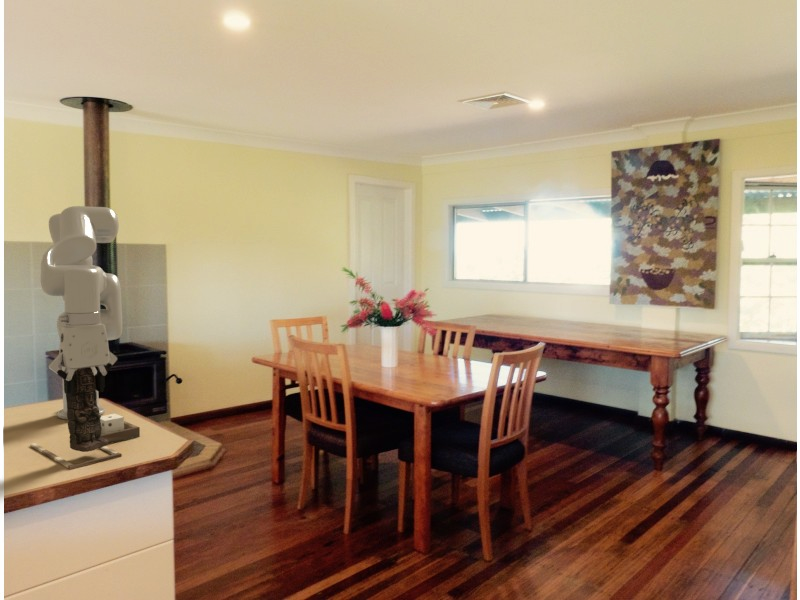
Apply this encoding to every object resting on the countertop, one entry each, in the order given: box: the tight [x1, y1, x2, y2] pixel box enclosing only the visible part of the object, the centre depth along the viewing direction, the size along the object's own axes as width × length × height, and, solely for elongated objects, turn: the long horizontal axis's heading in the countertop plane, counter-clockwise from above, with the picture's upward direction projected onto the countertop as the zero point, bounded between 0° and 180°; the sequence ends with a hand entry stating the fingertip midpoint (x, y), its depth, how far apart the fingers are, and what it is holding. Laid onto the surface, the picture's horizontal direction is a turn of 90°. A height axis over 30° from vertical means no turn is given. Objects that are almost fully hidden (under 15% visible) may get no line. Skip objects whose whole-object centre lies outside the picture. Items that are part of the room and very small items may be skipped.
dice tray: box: [100, 420, 141, 445], centre depth 167 cm, size 11×11×2 cm
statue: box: [66, 367, 109, 453], centre depth 150 cm, size 7×7×20 cm
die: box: [100, 413, 125, 435], centre depth 166 cm, size 5×5×5 cm
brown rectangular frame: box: [29, 442, 123, 470], centre depth 155 cm, size 24×12×1 cm, turn 50°
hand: (85, 392), depth 150 cm, fingers closed on statue, 6 cm apart
